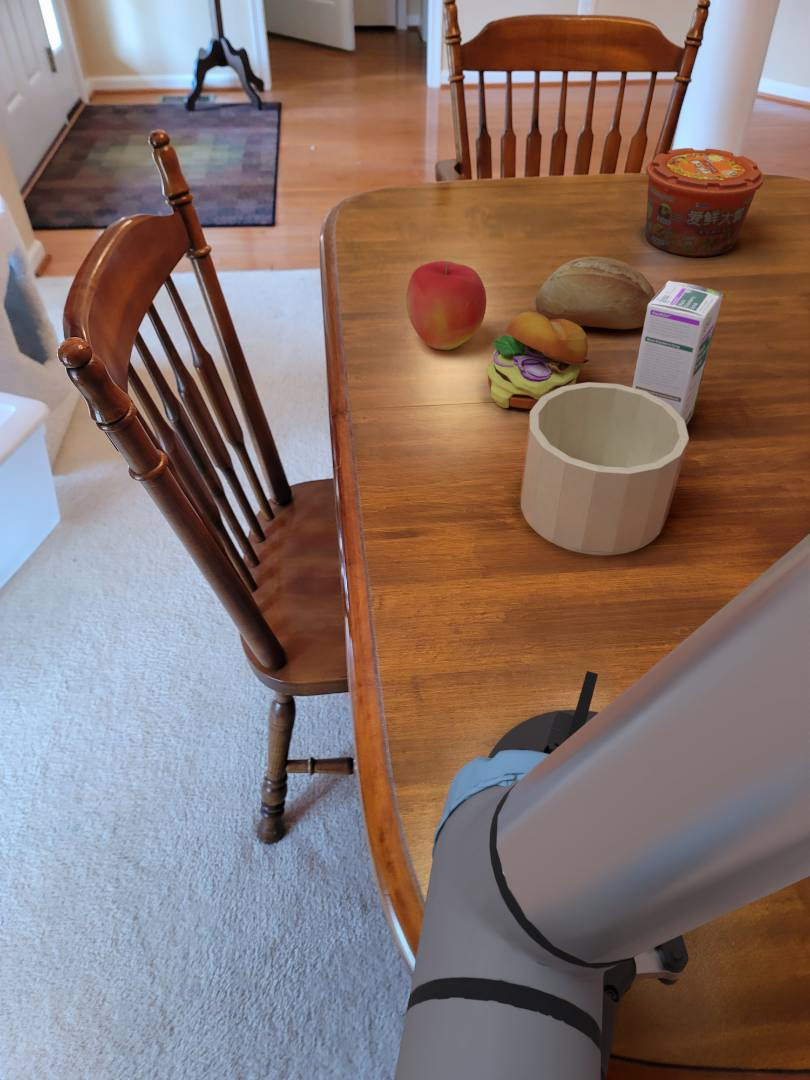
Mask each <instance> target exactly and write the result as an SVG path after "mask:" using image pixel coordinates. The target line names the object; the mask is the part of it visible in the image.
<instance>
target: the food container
mask: <svg viewBox="0 0 810 1080" xmlns="http://www.w3.org/2000/svg"><path fill="white" fill-rule="evenodd" d="M644 172H645V174H644V176H647V177H648V185H647V187H648V188H647V203H646V206H647V207H646V217H645V218H646V219H645V235H644V236H645V239H646V241H647V242H648V243H649V245H651V246H652V247H654V248H655V249H657V250H660V251H662V252H665V253H668V254H671V255H676V256H682V257H687V258H707V257H715V256H719V255H723V254H725V253H727V252H729V251H731V250H732V248H733V247H734V246H735V244H736V241H737V239H738V236H739V234H740V232H741V230H742V227H743V224H744V222H745V220H746V217H747V214H748V212H749V209H750V207H751V204H752V202H753V199H754V197H755V195H756V192H757V190H759V189H760V188H761V187H762V186H763V184H764V182H765V175H764V173H763V171H761V169H759V168H758V164H757V163H756V162H755V161H754V160H752V159H750V158H748V157H746V156H744V155H740V156H736V155H734V153H733V152H731V151H727V150H722V149H717V148H705V149H694V148H692V147H685V148H683V147H682V148H677V149H676V148H675V149H671V150H668V151H667V153H659V154H658V155H656V156H655V157H654V159H651V160H650V161H649V163H647V165H646V166H645V171H644Z"/></svg>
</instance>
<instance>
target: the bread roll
mask: <svg viewBox="0 0 810 1080" xmlns="http://www.w3.org/2000/svg"><path fill="white" fill-rule="evenodd" d="M656 294H657V293H656V292H655V289H654V287H653V286H652V284H651V283H650V282H649V280H648V279H646V277H645V276H644V274H643V273H641V272H640V271H638V270H637V269H636V268H634V267H633V266H632V265H630V264H628V263H627V262H625V261H623V260H622V261H621V260H618V259H616V258H611V257H602V256H584V257H579V258H578V257H577V258H575V259H572V260H570V261H568V262H566V263H564V264H562V265H560V266H559V267H558V268H557V269H556V270H554V271H553V272H552V274H550V276H549V277H548V279H546V281H545V282H544V283H543V284H542V286H541V287H540V289H538V292H537V293H536V297H535V308H536V313H539V314H541V315H543V316H545V317H546V318H548V319H549V320H553V319H565V320H568V321H571V322H573V323H575V324H577V325H579V326H580V327H590V328H591V327H592V328H603V329H616V330H632V329H633V330H634V329H637V328H638V329H639V328H642V327H644V323H645V318H646V313H647V307H648V304H649V303H650V302H651V300H652V299H653V298H654V296H655V295H656Z"/></svg>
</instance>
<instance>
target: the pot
mask: <svg viewBox="0 0 810 1080" xmlns="http://www.w3.org/2000/svg"><path fill="white" fill-rule="evenodd" d="M689 441H690V437H689V432H688V429H687V425H686V424H685V420H684V419H683V418H682V417H681V416H680V415H679V414H678V413H677V412H676V411H675V409H674V408H673V407H672V406H671V405H670V404H668V403H666V402H665V401H663V400H661V399H659V398H657V397H655V396H653V395H652V394H650V393H648V392H645V391H643V390H639V389H635V388H632V386H627V385H623V384H620V383H611V382H608V383H607V382H594V381H593V382H591V381H589V382H588V381H587V382H586V381H585V382H581V383H576V384H574V385H568V386H563V387H560V388H558V389H556V390H554V391H552V392H550V393H548V394H546V395H544V396H542V397H541V398H540V399H539V401H538V402H537V403H536V405H535V406H534V407H533V408H532V409H531V410H529V417H528V426H527V434H526V442H525V449H524V450H525V451H524V452H525V453H524V459H523V468H522V476H521V484H520V499H519V502H520V503H519V504H520V508H521V512H522V515H523V516H524V519H525V520H526V522H527V523H528V524H529V526H530V527H531V528H532V529H533V530H534V531H535V532H536V533H537V534H538V535H539V536H541V537H542V538H544V539H545V540H547V541H548V542H550V543H552V544H554V545H556V546H558V547H561V548H563V549H566V550H569V551H573V552H576V553H580V554H585V555H591V556H592V555H593V556H617V555H622V554H627V553H630V552H635V551H638V550H640V549H642V548H643V547H646V546H647V545H649V544H651V542H653V541H654V540H656V538H657V537H658V536H659V535H660V533H661V531H662V530H663V528H664V525H665V522H666V520H667V518H668V515H669V513H670V508H671V505H672V501H673V498H674V494H675V491H676V487H677V484H678V481H679V477H680V473H681V469H682V466H683V463H684V459H685V454H686V452H687V447H688V445H689Z"/></svg>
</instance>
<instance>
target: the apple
mask: <svg viewBox="0 0 810 1080" xmlns="http://www.w3.org/2000/svg"><path fill="white" fill-rule="evenodd" d="M405 297H406V300H405V302H406V309H407V310H406V311H407V314H408V315H407V316H408V318H409V321H410V323H411V326H412V328H413V330H414V331H415V332H416V334H417V336H418V337H419V338H420V339H421V340H422V341H423V342H424V343H425V344H427V346H429V347H431V348H433V349H436V350H440V351H450V350H453V349H456V348H458V347H460V346H461V345H462V344H464V343H466V342H468V340H469V339H471V338H472V337H473V336H474V335H475V334H476V333H477V332H478V330H479V329H480V327H481V326H482V324H483V321H484V319H485V315H486V310H487V293H486V287H485V285H484V283H483V281H482V278H481V276H480V275H479V273H477V271H475V269H473V268H472V267H470V266H467V265H465V264H461V263H456V262H454V261H453V262H452V261H448V260H436V261H431V262H427V263H424V264H423V265H420V266H419V267H417V268H415V270H414V271H413V272H412V274H411V276H410V278H409V281H408V285H407V289H406V296H405Z"/></svg>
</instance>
